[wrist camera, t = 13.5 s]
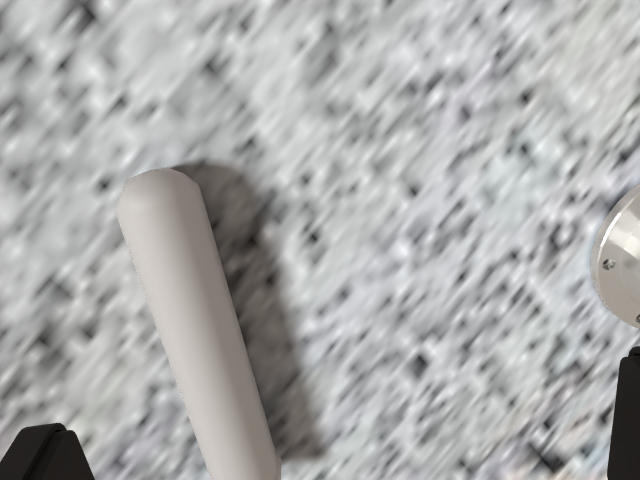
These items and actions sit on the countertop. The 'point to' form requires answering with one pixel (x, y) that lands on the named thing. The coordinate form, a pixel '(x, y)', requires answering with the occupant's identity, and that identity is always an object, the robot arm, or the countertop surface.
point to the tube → (197, 322)
